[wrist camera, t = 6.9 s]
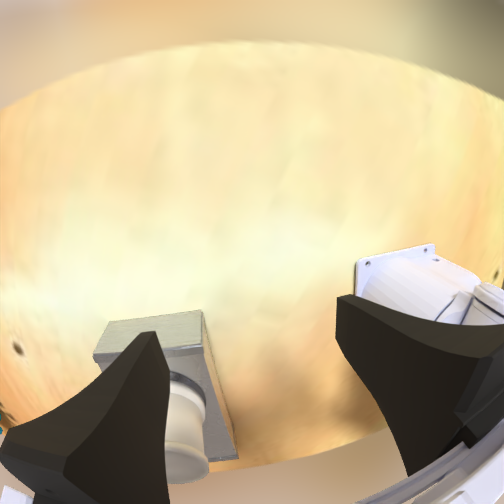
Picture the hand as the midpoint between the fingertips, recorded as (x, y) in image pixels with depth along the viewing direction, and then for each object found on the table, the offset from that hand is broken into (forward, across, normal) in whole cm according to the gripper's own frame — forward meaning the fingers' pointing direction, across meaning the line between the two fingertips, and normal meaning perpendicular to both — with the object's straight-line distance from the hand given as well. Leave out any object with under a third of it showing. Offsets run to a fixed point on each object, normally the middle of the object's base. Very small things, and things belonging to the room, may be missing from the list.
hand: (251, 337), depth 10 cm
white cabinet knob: (+6, +7, +10) cm, 13 cm away
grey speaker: (+10, +7, +12) cm, 17 cm away
